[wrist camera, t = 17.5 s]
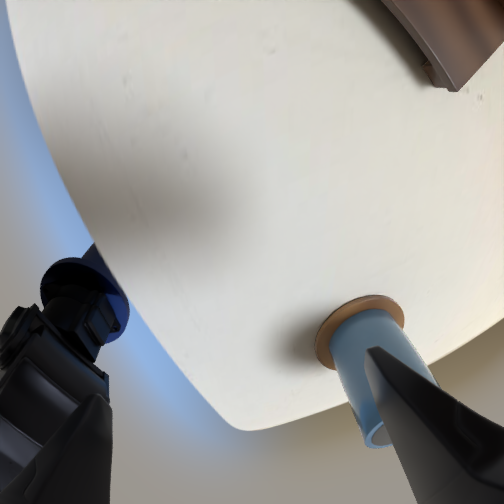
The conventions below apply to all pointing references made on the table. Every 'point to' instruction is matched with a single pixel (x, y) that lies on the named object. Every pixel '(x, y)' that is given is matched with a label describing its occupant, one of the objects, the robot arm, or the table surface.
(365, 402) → the cup
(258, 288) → the table surface
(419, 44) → the shelf
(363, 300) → the coaster
